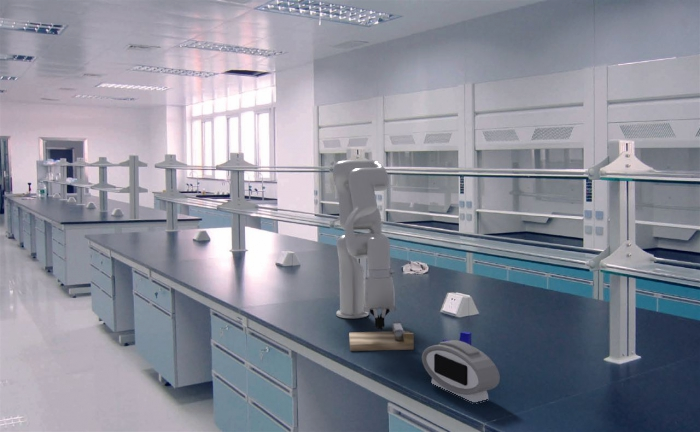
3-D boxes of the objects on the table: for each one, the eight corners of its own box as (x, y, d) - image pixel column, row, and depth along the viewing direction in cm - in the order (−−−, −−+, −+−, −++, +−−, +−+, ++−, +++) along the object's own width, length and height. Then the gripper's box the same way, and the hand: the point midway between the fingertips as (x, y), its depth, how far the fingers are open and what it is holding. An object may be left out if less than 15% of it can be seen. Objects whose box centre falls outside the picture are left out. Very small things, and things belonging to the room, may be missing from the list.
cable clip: (456, 362, 181) (456, 342, 181) (442, 359, 184) (442, 340, 184) (475, 352, 190) (475, 333, 190) (462, 350, 193) (462, 331, 193)
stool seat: (349, 338, 208) (349, 323, 207) (408, 337, 208) (408, 322, 208) (350, 350, 194) (350, 335, 193) (413, 349, 194) (413, 333, 194)
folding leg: (405, 341, 195) (405, 331, 195) (395, 341, 195) (395, 332, 195) (401, 330, 208) (401, 321, 208) (391, 330, 208) (391, 321, 208)
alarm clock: (421, 380, 166) (421, 334, 165) (439, 376, 169) (439, 331, 168) (480, 409, 146) (480, 357, 145) (499, 404, 150) (500, 352, 149)
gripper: (400, 271, 207) (401, 325, 208) (355, 272, 207) (356, 326, 208) (402, 275, 199) (403, 331, 201) (356, 276, 199) (357, 332, 200)
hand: (379, 328), depth 204 cm, fingers closed
